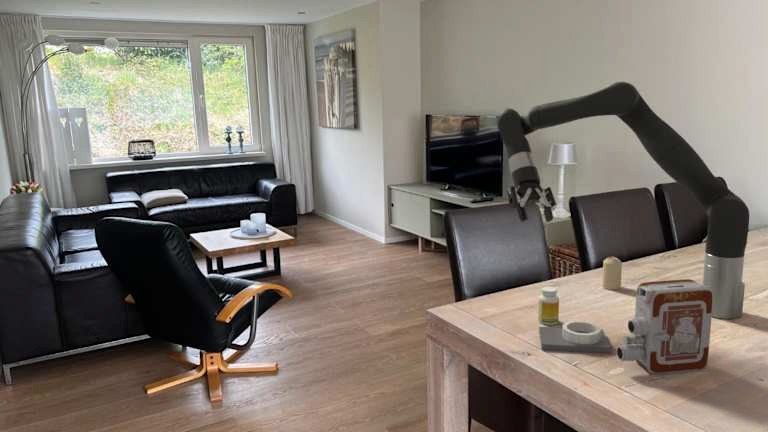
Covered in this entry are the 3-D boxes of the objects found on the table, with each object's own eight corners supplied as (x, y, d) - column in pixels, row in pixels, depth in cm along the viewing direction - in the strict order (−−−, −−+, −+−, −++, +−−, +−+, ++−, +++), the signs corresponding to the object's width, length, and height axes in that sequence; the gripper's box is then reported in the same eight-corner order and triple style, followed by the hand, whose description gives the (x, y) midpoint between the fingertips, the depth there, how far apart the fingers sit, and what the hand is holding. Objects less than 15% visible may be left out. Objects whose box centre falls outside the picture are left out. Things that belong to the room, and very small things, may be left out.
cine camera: (607, 361, 132) (611, 280, 128) (686, 355, 134) (692, 274, 130) (627, 380, 123) (632, 293, 119) (712, 373, 125) (719, 287, 121)
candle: (622, 290, 178) (623, 260, 176) (604, 290, 180) (605, 259, 178) (618, 284, 184) (620, 255, 182) (601, 284, 185) (602, 255, 183)
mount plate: (602, 334, 147) (603, 320, 146) (610, 353, 136) (610, 337, 135) (539, 331, 150) (539, 317, 149) (541, 349, 139) (542, 334, 139)
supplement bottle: (534, 319, 158) (535, 287, 156) (550, 316, 160) (551, 284, 158) (546, 326, 153) (546, 293, 151) (562, 323, 155) (563, 290, 153)
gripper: (509, 163, 161) (523, 215, 154) (551, 165, 166) (565, 215, 160) (496, 176, 167) (509, 226, 161) (536, 177, 172) (550, 226, 166)
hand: (537, 220), depth 160 cm, fingers open, 8 cm apart
